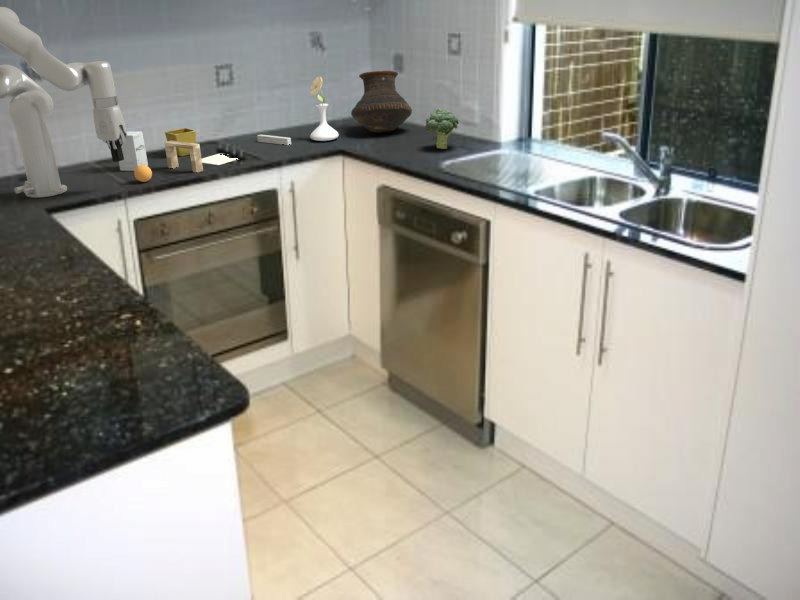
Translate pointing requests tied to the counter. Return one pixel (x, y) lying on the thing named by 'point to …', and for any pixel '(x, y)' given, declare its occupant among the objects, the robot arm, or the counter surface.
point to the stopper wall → (274, 139)
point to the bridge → (194, 154)
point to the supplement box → (133, 152)
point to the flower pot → (182, 139)
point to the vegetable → (441, 125)
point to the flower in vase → (322, 116)
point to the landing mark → (217, 159)
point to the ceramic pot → (380, 103)
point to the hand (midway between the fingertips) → (118, 160)
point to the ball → (143, 173)
